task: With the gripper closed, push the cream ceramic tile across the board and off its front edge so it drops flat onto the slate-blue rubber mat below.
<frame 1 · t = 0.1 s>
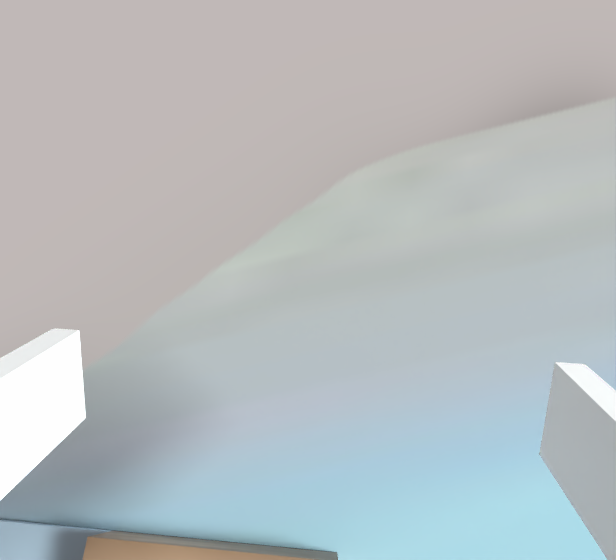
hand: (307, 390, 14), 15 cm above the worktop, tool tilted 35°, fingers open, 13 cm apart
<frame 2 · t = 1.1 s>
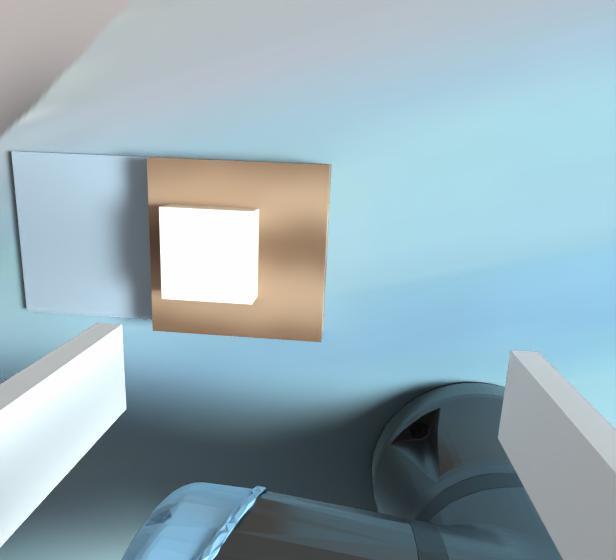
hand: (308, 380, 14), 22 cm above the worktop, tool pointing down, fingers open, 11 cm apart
tile: (214, 251, 33), point 3 cm above the worktop, touching board
board: (245, 245, 36), on the worktop
mat: (94, 236, 37), on the worktop
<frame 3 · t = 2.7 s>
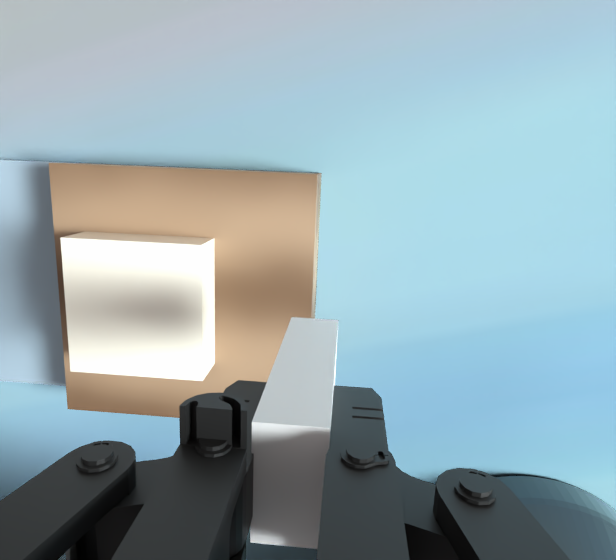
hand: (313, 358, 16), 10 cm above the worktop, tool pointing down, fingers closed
tile: (151, 298, 23), point 3 cm above the worktop, touching board
board: (201, 285, 26), on the worktop
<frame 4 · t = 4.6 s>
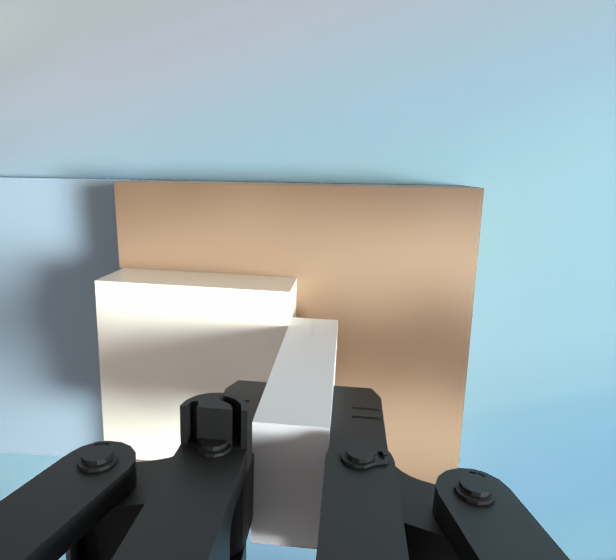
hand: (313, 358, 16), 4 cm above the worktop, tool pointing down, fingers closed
tile: (209, 355, 17), point 3 cm above the worktop
board: (300, 332, 20), on the worktop
mat: (32, 320, 21), on the worktop
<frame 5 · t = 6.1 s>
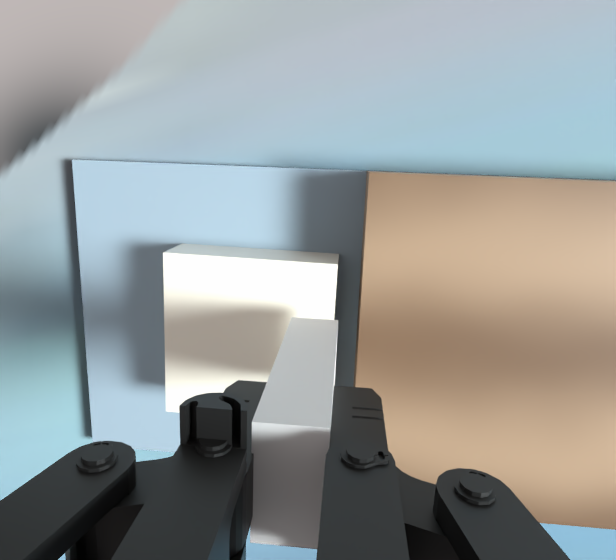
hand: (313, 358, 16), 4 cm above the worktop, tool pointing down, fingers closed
tile: (257, 323, 19), point 1 cm above the worktop, touching mat
board: (511, 334, 19), on the worktop
mat: (220, 316, 20), on the worktop
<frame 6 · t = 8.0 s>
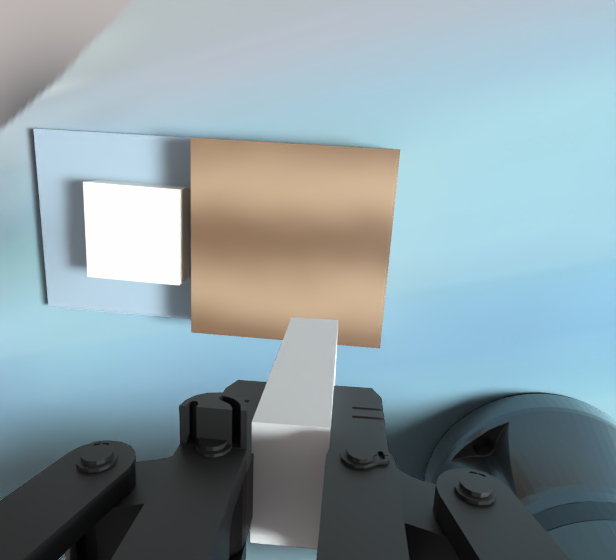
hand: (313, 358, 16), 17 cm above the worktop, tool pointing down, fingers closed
tile: (144, 229, 32), point 1 cm above the worktop, touching mat
board: (294, 238, 32), on the worktop
mat: (124, 226, 33), on the worktop
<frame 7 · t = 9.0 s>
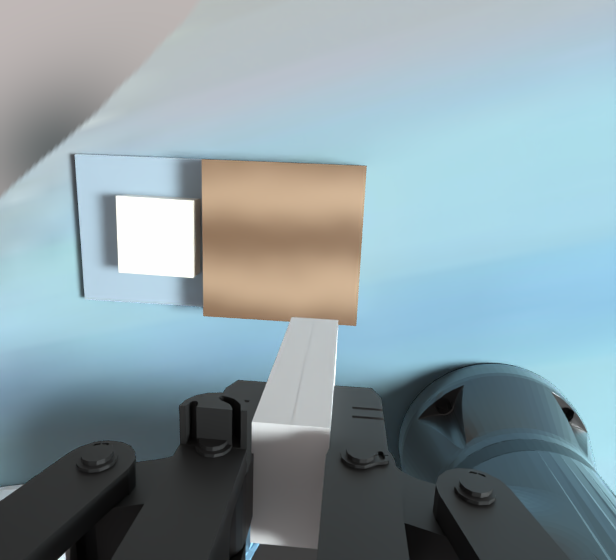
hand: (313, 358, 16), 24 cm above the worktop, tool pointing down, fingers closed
tile: (164, 233, 40), point 1 cm above the worktop, touching mat
board: (285, 238, 40), on the worktop
mat: (147, 231, 41), on the worktop
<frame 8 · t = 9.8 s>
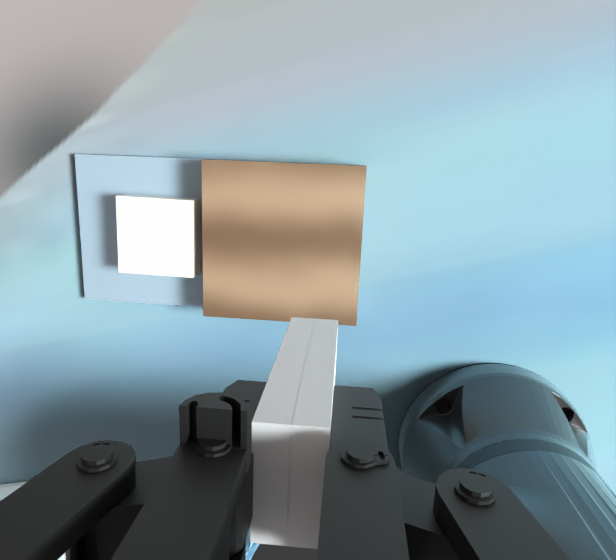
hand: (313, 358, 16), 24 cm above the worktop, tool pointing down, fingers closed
tile: (164, 233, 40), point 1 cm above the worktop, touching mat
board: (285, 238, 40), on the worktop
mat: (147, 231, 41), on the worktop
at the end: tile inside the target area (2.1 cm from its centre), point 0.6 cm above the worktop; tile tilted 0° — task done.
